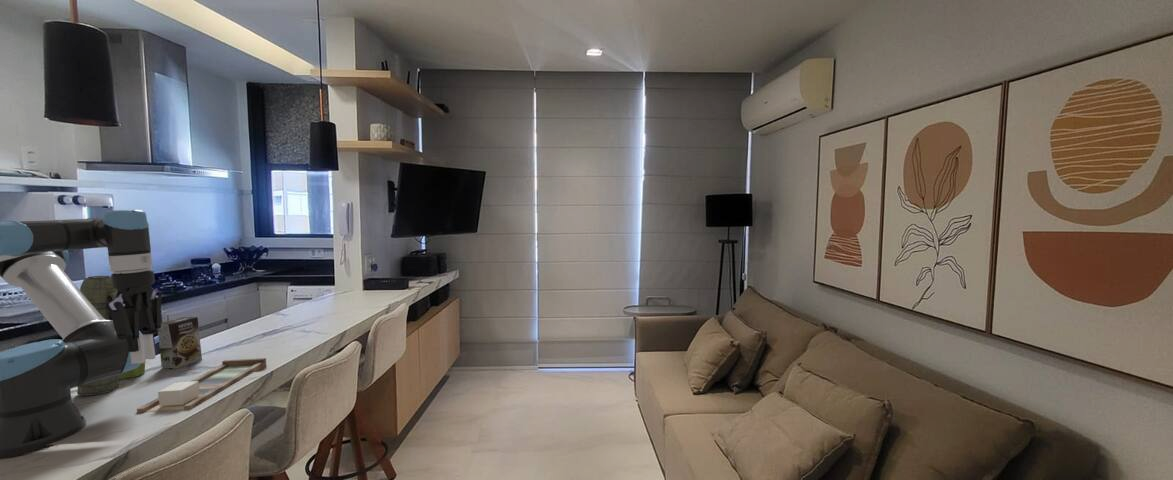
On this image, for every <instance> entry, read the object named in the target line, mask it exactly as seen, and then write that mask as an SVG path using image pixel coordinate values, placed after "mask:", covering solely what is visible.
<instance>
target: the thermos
mask: <svg viewBox="0 0 1173 480" xmlns="http://www.w3.org/2000/svg"><path fill="white" fill-rule="evenodd" d="M79 290H80V291H81V292H82V293H83V294H84V296H85V297H86V298H87V299H88V300H89V301H90V303H91V304H92V305H93V306H94V307H95V308H96V310H97V311H98V312H99V313H100V314H101V315H102V317H103V318H104V319H105V320H112V316H111V313H110V311H109V309H108V308H107V307H106V303H107V302H113V301H114V300H115V299H116V294H117V289H116V288H113V287H112V280H111V275H94V276H88V277H85V278H84V279H83V281H82V282H81V284H80V287H79ZM112 321H113V320H112ZM120 380H121V379H120V375H119V374H118V375H114V376H111V377H108V378H104V379H101V380H97V381H94V382H91V383H87V384H84V385H81V386H77V391H76V395H78V396H92V395H100V394H104V393H108V392H111V391H115V390H117V389H118V388H119V387H120Z"/></svg>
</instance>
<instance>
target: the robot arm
mask: <svg viewBox="0 0 1173 480" xmlns="http://www.w3.org/2000/svg"><path fill="white" fill-rule="evenodd" d="M149 225H150V224H149V222H148V218H147V213H146V211H144V210H142V209H122V210H121V209H118V210H116V209H115V210H106V211H104V213H103V216H102V217H88V218H74V219H71V218H70V219H69V218H68V219H53V220H23V221H22V220H20V221H19V220H18V221H16V220H8V221H2V222H0V277H1V278H2V279H3V281H4V282H5V283H7V284H8V285H10V286H13V287H18V288H20V289H21V290H22V291H23V292H24V294H26V295H27V297H28V298H29V299H30V300H31V302H32V303H33V304H34V306H36V308H37V310H39V311H40V313H41V314H42V315H43V316H44V318H45V319H46V320H47V321H48V322H49V324H50V325H51V326H52V327H53V329H54V330H55V331H56V332H57V333H58V335H59V336H60V337H61V338H62V339H57V338H56V339H55V338H53V339H46V340H45V339H44V340H41V341H33V342H30V343H26V344H22V345H19V346H15V347H13V348H10V349H7V350H4V351H3V352H2V351H1V352H0V459H5V458H12V457H17V456H23V455H27V454H31V453H35V452H38V451H42V450H45V449H48V448H50V447H51V448H52V447H54V446H56V445H58V443H57V442H59V441H62V440H64V439H66V438H69V437H71V436H73V435H75V434H77V433H79V432H81V430H83V429H84V428H85V427H86V425H87V422H86V418H85V417H84V415H82V414H81V412H80V411H79V409H78V407H77V406H76V404H75V403H74V401H73V400H72V394H71V393H72V392H71V389H73V388H76V387H77V386H81V385H84V384H87V383H91V382H94V381H97V380H101V379H104V378H108V377H111V376H114V375H118V374H119V375H120V374H123V373H124V372H127V371H130V370H133V369H135V368H137V367H139V366H140V365H141V363H145V364H146V363H147V360H155V359H156V358H157V357H156V349H155V343H156V341H155V334H158V331H159V330H158V329H160V328H161V323H162V297H163V296H164V292H163V291H157V290H154V288H153V287H152V285H154V284H155V282H156V279H155V273H154V272H155V271H154V270H153V269H152V268H153V259H152V247H151V246H152V245H151V239H150V226H149ZM97 248H98V249H99V248H100V249H101V248H106V249H107V254H108V262H109V263H108V265H109V271H110V272H113V273H112V274H111V275H110V277H111V280H112V287H113V288H116V289H117V294H116V299H115V300H114V301H113V302H107V303H106V307H107V308H108V309H109V311H110V313H111V316H112V320H113V321H112V320H105V319H104V318H103V317H102V315H101V314H100V313H99V312H98V311H97V310H96V308H95V307H94V306H93V305H92V304H91V303H90V301H89V300H88V299H87V298H86V297H85V296H84V294H83V293H82V292H81V291H80V288H79V287H78V286H77V285H76V284H75V282H74V281H73V280H72V279H71V278H70V276H69V275H68V274H67V273H66V272H65V270H66V267H67V265H68V264H69V258H70V257H69V252H68V251H74V250H75V251H77V250H89V249H97ZM77 388H78V387H77ZM54 443H57V444H54Z"/></svg>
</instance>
